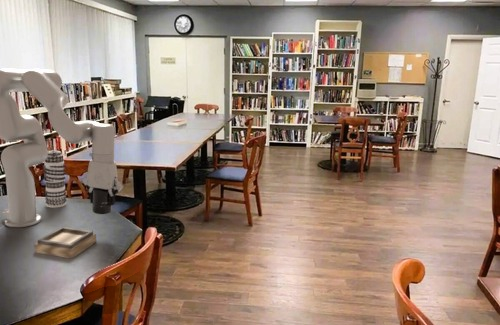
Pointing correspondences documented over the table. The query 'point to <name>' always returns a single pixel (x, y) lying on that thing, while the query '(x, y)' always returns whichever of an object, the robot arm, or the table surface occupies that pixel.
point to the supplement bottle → (101, 201)
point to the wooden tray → (65, 242)
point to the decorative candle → (55, 179)
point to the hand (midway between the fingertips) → (102, 203)
